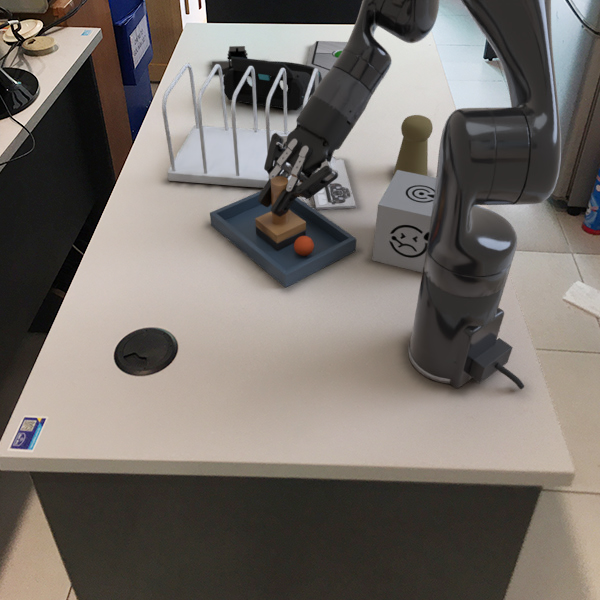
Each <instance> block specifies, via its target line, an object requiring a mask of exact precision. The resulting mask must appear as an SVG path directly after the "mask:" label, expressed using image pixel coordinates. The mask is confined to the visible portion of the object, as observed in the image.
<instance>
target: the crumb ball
mask: <svg viewBox="0 0 600 600" xmlns="http://www.w3.org/2000/svg"><path fill="white" fill-rule="evenodd" d="M294 249H295V251H296V253H297V254H299V255H301V256H307V255H309V254H310V253H311V252H312V251H313V249H314V243H313V241H312V239H311V238H309V237H307V236H301V237H299V238H297V239H296V241H295V243H294Z"/></svg>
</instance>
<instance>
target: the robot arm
mask: <svg viewBox="0 0 600 600" xmlns="http://www.w3.org/2000/svg"><path fill="white" fill-rule="evenodd" d="M460 1H461V3H462V5H463V7H464V9H466V11H467V13H468V14H469V16H470V18H471V19H472V21H473V22H474V24H475V25H476V26H477V28H478V29H479V31H480V32H481V33H482V35H483V36H484V38H485V39H486V41H487V42H488V44H489V45H490V47H491V49H492V50H493V51H494V53H495V55H496V57H497V59H498V60H499V63H500V66H501V68H502V70H503V74H504V76H505V80H506V84H507V89H508V93H509V100H510V106H509V107H503V106H502V107H463V108H457V109H455V110H454V111H451V113H450V114H449V116H448V117H447V119H446V120H445V123H444V125H443V129H442V133H441V136H440V142H439V147H438V148H439V149H438V156H437V167H436V168H437V169H436V177H435V178H436V185H435V194H434V200H433V206H432V214H431V223H430V232H429V238H428V244H427V250H426V256H425V262H424V267H423V272H422V273H421V278H420V284H419V290H418V295H417V302H416V306H415V307H416V308H415V313H414V318H413V324H412V331H411V336H410V339H409V343H408V349H407V350H408V351H407V353H408V358H409V361H410V363H411V365H412V366H413V367H414V369H415V370H416V371H417V372H418V373H420V374H421V375H422V376H424V377H425V378H427V379H430V380H432V381H434V382H437V383H441V384H449V385H451V386H452V387H453V388H455V389H460V388H461V387H462V386H463V385H465V384H467V382H469V381H470V380H472V379H473V380H475V381H476V382H478V384H481V383H482V382H484V381H485V380H486V379H488V378H489V377H490V376H493V374H494V373H496V372H497V371H499V372H500V373H502V374H503V376H505V377H507V378H508V379H509V380H511V381H512V382H513V383H514V384H515V385H516V386H517V388H518V389H520V390H522V389H524V388H525V385H524V383H523V382H522V380H521V379H520V378H519V377H517V375H515V374H514V373H513V372H511V370H509V369H507V368H506V367H505V365H506V364H508V362H509V359H510V356H511V354H512V351H513V346H511V345H510V344H509V343H507V342H506V341H504V340H503V339H501V338H500V337H498V336H499V333H500V331H501V327H502V324H503V319H504V316H505V311H504V310H503V309H502V308H500V304H501V301H502V297H503V293H504V291H505V287H506V283H507V281H508V277H509V274H510V271H511V266H512V263H513V261H514V257H515V254H516V251H517V246H518V236H517V232H516V230H515V228H514V226H513V225H512V224H511V222H510V221H508V220H507V219H506V217H503V216H502V215H500V214H499V213H497V212H495V211H493V210H491V209H488V208H486V207H483V206H509V205H510V206H511V205H512V206H513V205H514V206H515V205H519V206H520V205H536V204H537V205H538V204H542V203H544V202H545V201H547V200H548V199H549V198H550V197H551V196H552V194H553V192H554V191H555V189H556V187H557V183H558V180H559V176H560V169H561V163H562V131H561V130H562V129H561V119H560V117H561V116H560V109H559V108H560V107H559V99H558V89H557V88H558V87H557V80H556V71H555V60H554V49H553V47H554V46H553V33H552V32H553V31H552V30H553V29H552V0H460ZM439 9H440V0H362V1H361V5H360V8H359V12H358V15H357V18H356V21H355V23H354V26H353V27H352V31H351V34H350V36H349V38H348V40H347V41H346V42H347V44H346V46H345V47H344V49H343V51H342V52H341V54H340V55H339V57H338V59H337V60H336V62H335V63H334V65H333V66H332V68H331V69H330V71H329V72H328V73H327V74H326V75H325V76H324V78H323V79H322V80H321V82H320V83H319V85H318V86H317V88H316V90H315V91H314V93H313V94H312V95H311V96H310V98H309V99H308V101H307V104H306V105H305V107H304V108H303V107H302V109H303V110H302V109H301V112H300V113H299V114H298V116H297V118H296V121H295V123H296V127H295V128H294V129H293V130H292V131H289V132H290V133H289V134H288V136H279V135H278V134H277V133H274V134H273V135H272V137H271V141H270V145H269V150H268V154H267V158H266V162H265V166H264V169H265V170H266V171H267V173H268V174H269V180H268V182H267V183H266V185H265V186H264V188H261V189H262V190H260V191H261V193H260V195H259V199H258V202H259V203H261V204H262V205H264V206H266V207H269V206H270V205H271V179H272V178H274V177H277V176H283V177H286V178H287V179H288V178H289V176H290V175H292V176H291V178H290V180H289V182H288V184H287V186H286V191H285V190H283V191H282V192H281V194H280V195H279V197H278V199H277V200H276V202H275V203H274V205H273V206H272V208H271V212H272V213H274V214H275V215H277V216H279V217H281V216H282V215H284V214H286V213H287V211H288V209H289V208H290V207H291V205H292V204H293V202H294V200H295V199H296V198H305V199H307V200H309V199H311V198H312V197H313V195H315V194H316V193H318V192H319V191H320V190H322V189H323V188H324V187H326V186H327V185H328V184H330V183H331V182H333V181H334V180H335V179H336V178H337V177H338V173H337V172H335V171H334V170H333V168H332V166H331V164H330V161H331V159H332V157H333V154H334V152H335V151H336V150H337V151H338V150H339V149H341V147H342V145H343V144H344V142H345V141H346V139H347V138H348V137H349V135H350V133H351V132H352V130H353V128H355V125H356V124H357V122H358V121H359V119H360V118H361V117H362V115H363V113H364V111H365V110H366V109H367V106H368V104H369V102H370V100H371V98H372V96H373V95H374V94H375V92H376V90H377V89H378V87H379V86H380V84H381V83H382V81H384V78H385V77H386V75H387V74H388V72H389V70H390V69H391V66H392V62H393V60H392V56H391V55H390V53H389V52H388V51H387V49H386V48H385V47H384V46H383V45H382V44H381V43H380V42H379V41H378V40H377V39H376V38H375V33H376V30H377V29H378V27H379V28H380V29H382V30H384V31H385V32H387V33H389V34H391V35H392V36H394V37H395V38H397V39H399V40H401V41H402V42H404V43H407V44H415V43H419V42H421V41H423V40H424V39H425V38H427V36H428V35H429V34H430V33H431V31H432V30H433V28H434V26H435V24H436V21H437V18H438V14H439ZM273 163H274V165H273ZM286 163H289V164H290V165H287V164H286ZM283 170H284V171H283ZM316 170H317V172H316ZM282 171H283V172H282ZM281 172H282V174H280V173H281ZM301 172H302V173H304V174H305V175H302V173H301ZM315 172H316V173H315ZM298 181H299V182H298ZM297 183H298V184H297Z"/></svg>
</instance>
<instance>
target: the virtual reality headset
mask: <svg viewBox="0 0 600 600" xmlns="http://www.w3.org/2000/svg"><path fill="white" fill-rule="evenodd" d="M247 58H248V57H247ZM247 58H240V57H232V56H231V60H230V61H231V64H232V65H233V66H234V67H233V68H231V69H229V70H228V71H227V72H226V74H225V75H223V84H224V93H225V98H227V100H228V101H231V102H232V98H233V94H234V92H235V90H236V88H237V86H238V84H239V83H240V81H241V79H242V77H243V76H244V74H245V72H246V70H247V69H248V67H249V66H253V67H254V71H255V83H256V104H257V105H259V106H264V107H266V101H267V97H268V94H269V92H270V90H271V88H272V86H273V84H274V82H275V80H276V77H277V75H278V73H279V71H280V69H281V68H285V70H286V81H287V110H292V111H298V110H299V109H300V108H301V107H303V102H304V98H305V94H306V91H307V88H308V85H309V82H310V80H311V77H312V74H313V71H314V69H315V68H314V67H311V66H307V65H306V64H302V63H297V62H289V61H278V60H277V61H273V60H272V61H271V60H264V61H263V59H255V58H248V59H247ZM248 77H250V79H252V74H251V71H250V73H249V75H248ZM248 77H247V78H246V80H245V82H244V84H243V86H242V87H241V89H240V91H239V93H238V95H237V98H236V102H237V103H245V104H251V105H253V90H252V85H250V84H249V82H248ZM321 80H322V77H321V73H320V72H319V71H318V85H319V83H320V82H321ZM281 81H282V82H283V74H282V76H281V78H280V80H279V82H278V84H277V86H276V89H275V91H274V93H273V95H272V97H271V101H270V107H271V108H278V109H284V96H283V87H282V86H281ZM314 91H315V79H314V82H313V85H312V88H311V92H310V95H309V98H308V100H309V99H310V97H311V96H312V94H313V93H314Z"/></svg>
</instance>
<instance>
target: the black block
mask: <svg viewBox="0 0 600 600" xmlns="http://www.w3.org/2000/svg"><path fill="white" fill-rule="evenodd" d="M227 52H228V53H227V57H226V59H227V60H218V61H217V60H213V61H211V69H210V72H211V71H212V69H213V68H214V66H215V65H216V64H219V65H220V66H221V69H222V75H223V76H224V75H225V74H226V72H227V71H228V70H229V69H231V68H233V67H234V66H233V65H232V64H231V56H232V57H240V58H247V59H249V58H248V52H247V49H246V45H241V46H240V45H235V46H233V45H230V46H228V51H227ZM262 60H263V59H262ZM263 61H265V60H263ZM214 76H219V71H218V69H217V70H216V72H215V74H214Z"/></svg>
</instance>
